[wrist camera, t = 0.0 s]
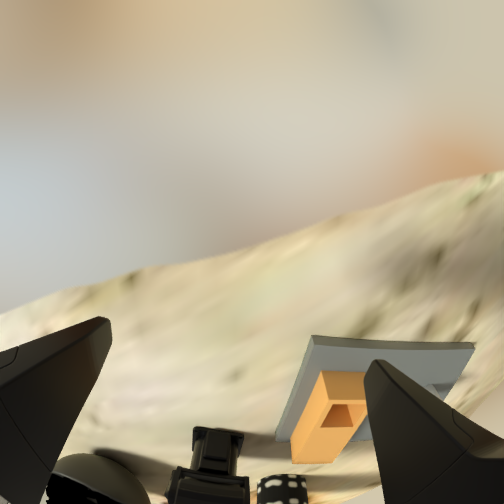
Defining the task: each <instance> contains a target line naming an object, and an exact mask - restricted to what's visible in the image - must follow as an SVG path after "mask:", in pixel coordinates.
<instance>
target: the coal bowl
mask: <svg viewBox="0 0 504 504" xmlns="http://www.w3.org/2000/svg"><path fill="white" fill-rule="evenodd" d="M51 473H52V474H51V476H50V479H49V481H48V484H47V487H46V494H47V496H48V497H49V500H46V502H47V504H151V503H150V499H149V497H148V494H147V492H146V491H145V489H144V487H143V486H142V484H141V483H140V482H139V480H138V479H137V478H136V477H135V476H134V475H133V474H132V473H131V472H130V471H128V470H127V469H126V468H124V467H123V466H121V465H120V464H118V463H116V462H115V461H112V460H110V459H108V458H105V457H102V456H99V455H94V454H85V453H82V454H72V455H68V456H66V457H63V458H61V459H59V460H58V461H57V462H56V464H55V467H54V469H53V471H52V472H51Z"/></svg>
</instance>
